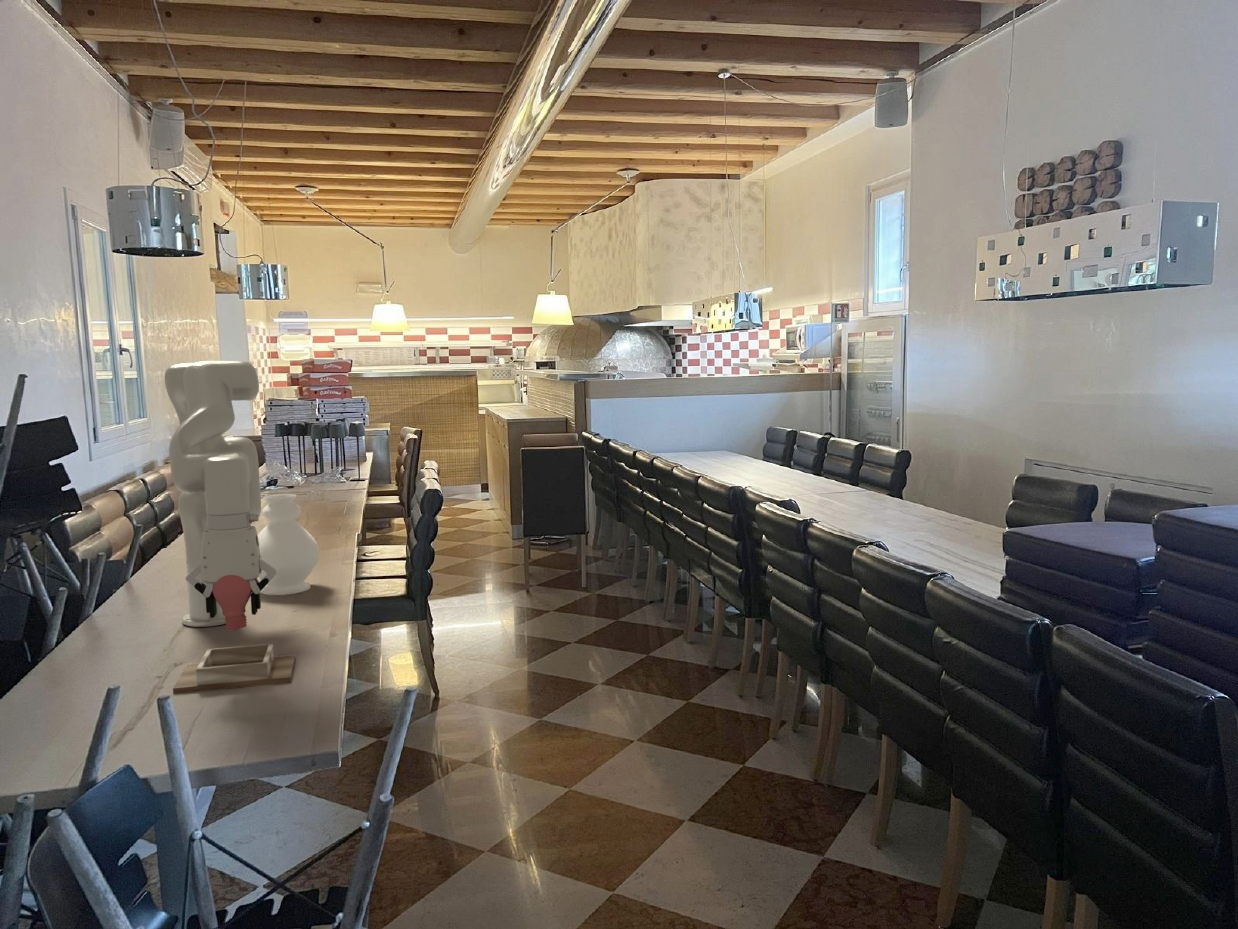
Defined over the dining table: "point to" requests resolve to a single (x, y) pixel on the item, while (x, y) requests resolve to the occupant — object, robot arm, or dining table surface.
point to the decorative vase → (286, 547)
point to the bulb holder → (236, 669)
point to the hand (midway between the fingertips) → (234, 613)
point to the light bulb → (232, 599)
